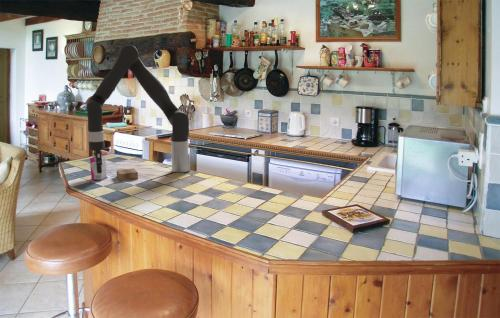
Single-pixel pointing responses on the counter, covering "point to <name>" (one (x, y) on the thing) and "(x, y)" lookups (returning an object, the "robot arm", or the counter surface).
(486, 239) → the counter surface
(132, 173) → the brown cardboard box
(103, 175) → the supplement box
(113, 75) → the robot arm
